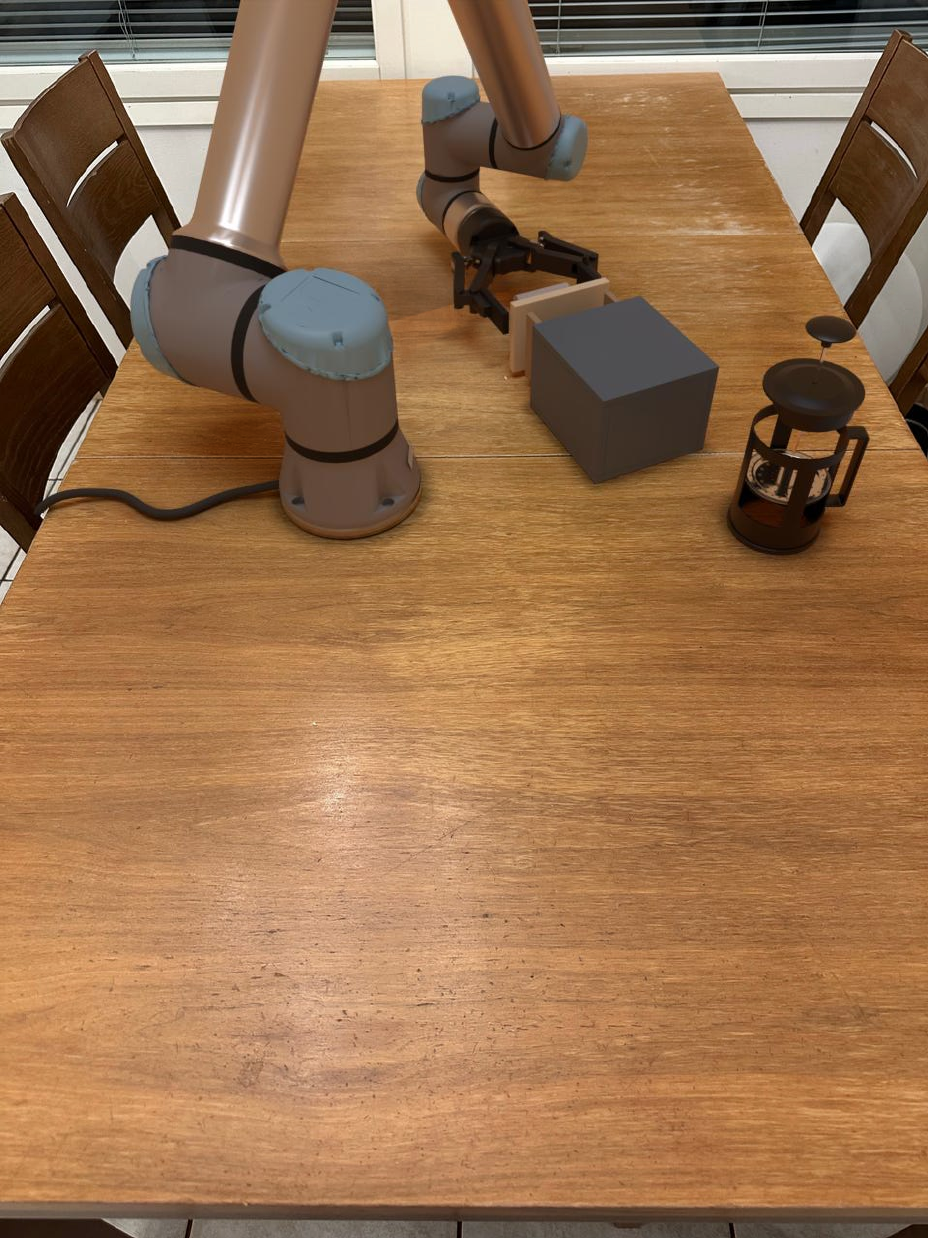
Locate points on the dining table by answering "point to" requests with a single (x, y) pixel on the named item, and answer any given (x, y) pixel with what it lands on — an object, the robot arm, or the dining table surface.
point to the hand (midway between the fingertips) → (556, 310)
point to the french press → (788, 477)
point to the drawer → (550, 313)
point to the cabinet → (621, 387)
